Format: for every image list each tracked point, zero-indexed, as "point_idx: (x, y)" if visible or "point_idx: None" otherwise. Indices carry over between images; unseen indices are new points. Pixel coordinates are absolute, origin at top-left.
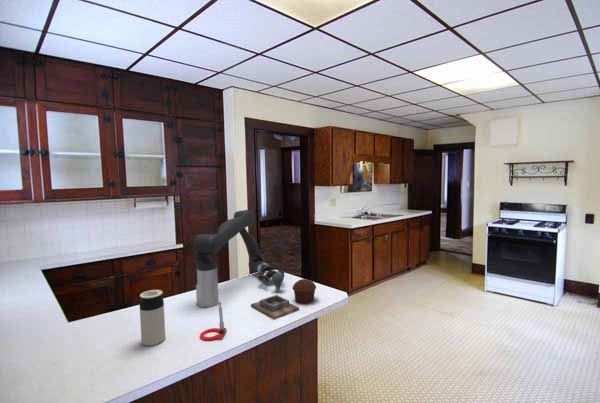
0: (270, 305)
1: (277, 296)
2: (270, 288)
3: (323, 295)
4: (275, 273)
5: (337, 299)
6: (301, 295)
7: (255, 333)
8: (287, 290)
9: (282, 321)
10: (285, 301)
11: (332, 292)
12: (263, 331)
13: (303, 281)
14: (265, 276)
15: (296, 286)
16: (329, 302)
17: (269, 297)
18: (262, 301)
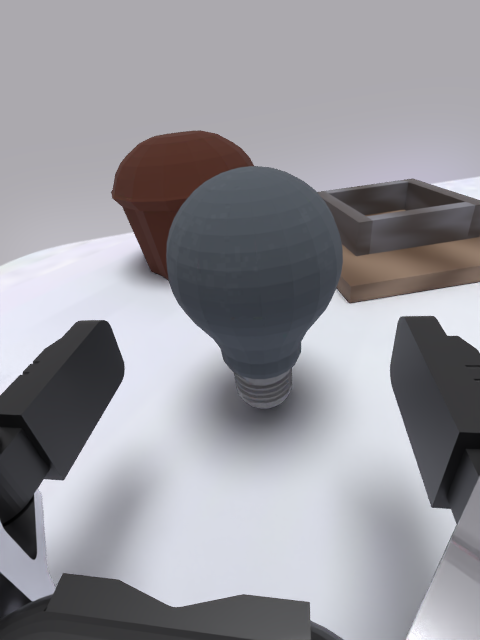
0: (419, 182)
1: (359, 213)
2: (317, 552)
3: (77, 270)
4: (284, 175)
5: (83, 241)
6: None
7: (476, 181)
8: (167, 386)
9: None
10: (334, 191)
11: (7, 279)
12: (448, 184)
13: (195, 131)
14: (475, 391)
15: (244, 152)
16: (133, 235)
17: (416, 212)
18: (466, 196)
